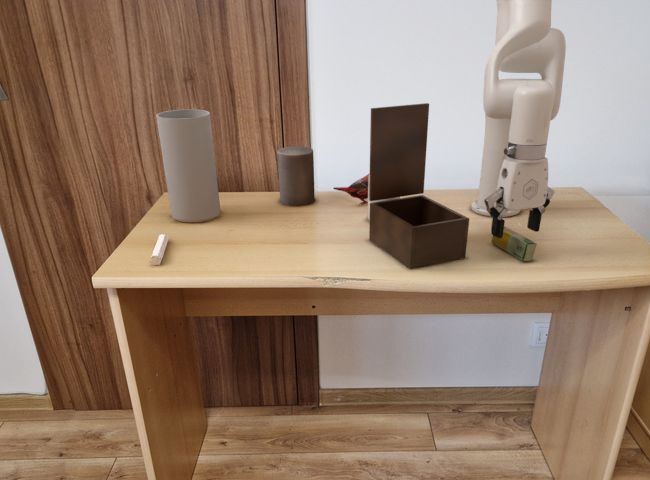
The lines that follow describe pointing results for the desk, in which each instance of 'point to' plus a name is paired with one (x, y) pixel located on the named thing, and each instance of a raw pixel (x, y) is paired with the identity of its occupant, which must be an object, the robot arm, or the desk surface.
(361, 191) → the decorative bird figurine
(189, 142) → the cylinder vase
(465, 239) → the chest
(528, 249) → the medication box
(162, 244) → the white rectangular bar
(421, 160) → the lid
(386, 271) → the desk surface
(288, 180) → the pillar candle
